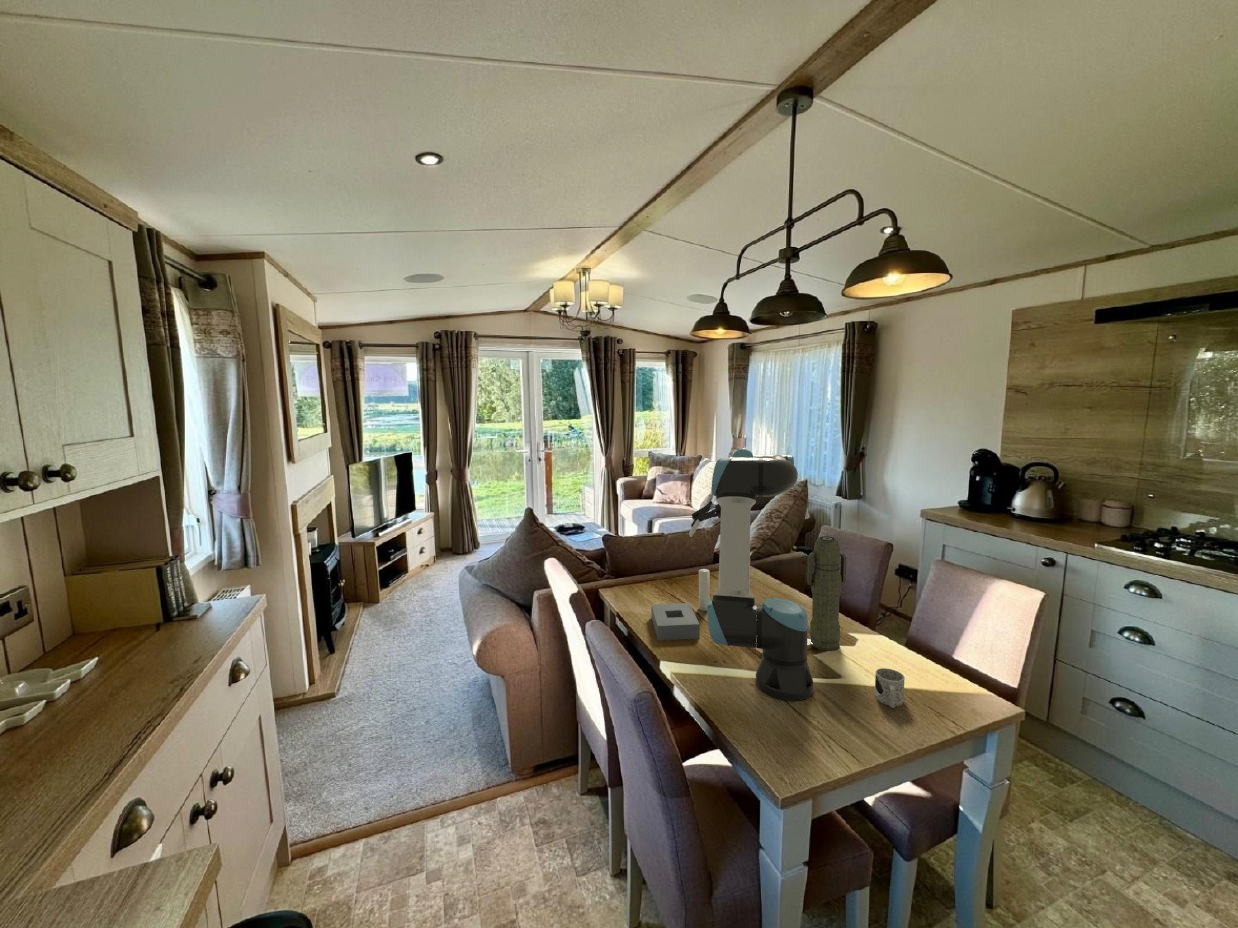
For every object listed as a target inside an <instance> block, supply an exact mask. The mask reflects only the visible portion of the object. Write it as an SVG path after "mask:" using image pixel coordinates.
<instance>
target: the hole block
mask: <svg viewBox="0 0 1238 928" xmlns="http://www.w3.org/2000/svg"><path fill="white" fill-rule="evenodd" d="M650 608H651V620H652V623H653V628H654V631H655V634H656V635H655V636H656V638H657V641H672V640H673V641H674V640H676V641H677V640H695V639H697V640H698V639H700V636H701V633H700V631H701V630H700V629H701V628H700V626H701V625H700V622H699V620H698V618H697V616H696V614H695V612H694V610H693V608H692V606H691V604H690V602H684V603H662V604H661V603H660V604H651V606H650Z"/></svg>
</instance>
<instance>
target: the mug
mask: <svg viewBox="0 0 1238 928" xmlns="http://www.w3.org/2000/svg"><path fill="white" fill-rule="evenodd" d="M904 695H905V676H904V675H903V673H901V672H900V671H898V670H895V669H892V668H888V667H887V668H886V667H880V668H878V669H876V670H875V681H874V697H875V699H876V701H878V702H879V703H880V704H883V705H886V706H889V707H890V708H892V709H895V708H896V707H901V706H903V704H904Z"/></svg>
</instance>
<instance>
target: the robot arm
mask: <svg viewBox="0 0 1238 928" xmlns="http://www.w3.org/2000/svg"><path fill="white" fill-rule="evenodd" d="M798 475H799V474H798V470H797V467H796V466H795V458H794V456H793V455H791V454H754V453H753V452H752V451H751V450H750V449H747V448H739V449H737V450H735V451H734V452H733V453H732V456H731V457H720V458H718V459H717V461H716V462H715V464H714V468H713V472H712V478H711V487H710V489H711V490H710V492H711V496H714V497H715V502H716V503H717V504H715V503H714V502H713V501H709V502H708V503H707V504H706V505H704V506H703V507H701V508H700V509H698V510H696V511H694V512H693V513H692V514H691V518H692V519H691V520H693V522H692V523H691V525H690V526H691V528H690V530H689V532H688V535H689V537H690V538H692V537H693V536H694V534H696V533H695V532H696V531H697V529H698V528H699V526H700V522H704V521H706V520H709V519H712V518H716V517H717V518H718V519H720V526H719V527H720V529H719V530H720V534H719V560H718V562H719V563H718V566H719V567H718V588H717V590H716V591H715V592H713V593H712V599H710V601H708V602H707V611H706V612H707V613H706V615H707V626H708V633H709V637H710V639H711V641H712V642H713V643H715V644H717V645H723V646H727V647H732V646H733V647H739V648H748V649H759V650H762V655H761V656H762V657H761V658H760V660H759V664H758V666H757V669H756V672H755V685H756V687H757V688H758V690H760V691H761V692H762V693H764V694H765V695H766V696H768V697H771V698H774V699H776V700H781V701H788V702H797V701H798V702H799V701H802V700H806V699H808V698H809V697H811V696H812V695H813V693H814V679H813V677H812V673H811V670H810V667H809V663H808V631H809V629H810V626H809V625H808V621H809V620H808V619H809V618H808V613H807V612H806V610H805V609H804V608H803V607H802V606H801V605H800V604H797V603H796V602H794V601H791V600H788V599H785V598H780V597H779V598H778V597H771V598H770V597H769V598H766V599H764V600H763V602H762V604H756V599H755V598H756V597H755V596H754V595H753V594H752V592H751V591H750V579H751V578H750V573H751V571H750V570H751V568H750V566H751V565H750V564H751V509H752V507H753V506H754V505H755V504H756V503H757V497H759V498H760V497H761V498H763V497H764V498H768V497H775V496H779V495H781V494H785V493H786V492H787V491H790V490H791V489H792V488H794V486H795V485H796V484H797V481H798V478H799V476H798Z"/></svg>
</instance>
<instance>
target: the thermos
mask: <svg viewBox="0 0 1238 928" xmlns="http://www.w3.org/2000/svg"><path fill="white" fill-rule="evenodd" d="M806 560H807V565H806V567H807V568H806V580H807V581H806V582H807V585H808V586H811V587H810V589H811V593H812V601H811V602H812V603H811V605H812V606H811V607H812V608H811V611H812V613H811V620H810V623H809V636H810V640H811V642H812V643H813V646H812V647H814V648H815V649H819V650H821V651H825V652H827V651H828V652H832V651H836V650H838V649H839V648H840V640H841V624H840V621H839V620H840V619H839V618H840V596H841V594H842V586H843V585H844V584H846V580H847V579H846V577H847V576H846V575H847V574H846V573H847V556H846V555H845V554H844V553H843V552H842V551H841V546H840V543H839V540H838V539H837V538H836V537H833V536H827V535H824V536H819V537H817V539H816V540H815V543H814V546H813V551H812V552H810V553H808V555H807V559H806ZM813 562H814V563H813Z"/></svg>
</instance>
